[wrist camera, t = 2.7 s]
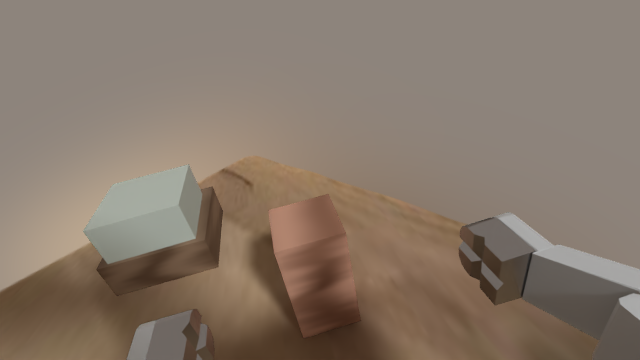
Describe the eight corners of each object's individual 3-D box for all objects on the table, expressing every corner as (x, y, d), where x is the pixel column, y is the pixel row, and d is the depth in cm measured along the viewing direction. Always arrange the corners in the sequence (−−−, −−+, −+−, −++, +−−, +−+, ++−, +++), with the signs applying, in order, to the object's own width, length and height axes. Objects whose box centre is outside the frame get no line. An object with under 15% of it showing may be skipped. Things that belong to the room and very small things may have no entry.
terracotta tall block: (303, 338, 26) (274, 252, 21) (294, 291, 31) (268, 210, 25) (360, 320, 27) (345, 232, 22) (344, 276, 31) (328, 193, 26)
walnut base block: (118, 298, 34) (96, 269, 32) (144, 234, 44) (128, 208, 41) (219, 269, 35) (204, 239, 33) (223, 212, 45) (212, 186, 42)
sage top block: (107, 264, 32) (82, 231, 30) (131, 213, 40) (112, 184, 38) (195, 238, 33) (178, 204, 31) (202, 194, 41) (188, 164, 39)
